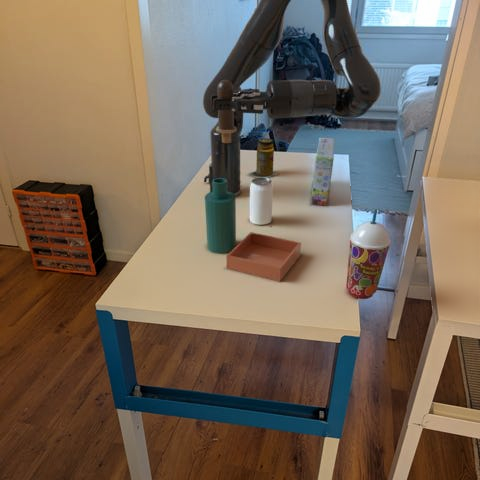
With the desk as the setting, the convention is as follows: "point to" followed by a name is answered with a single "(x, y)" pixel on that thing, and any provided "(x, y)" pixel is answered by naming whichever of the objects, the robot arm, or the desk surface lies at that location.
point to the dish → (264, 256)
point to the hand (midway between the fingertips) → (212, 102)
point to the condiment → (264, 159)
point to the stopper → (225, 112)
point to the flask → (220, 218)
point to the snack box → (323, 171)
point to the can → (261, 201)
